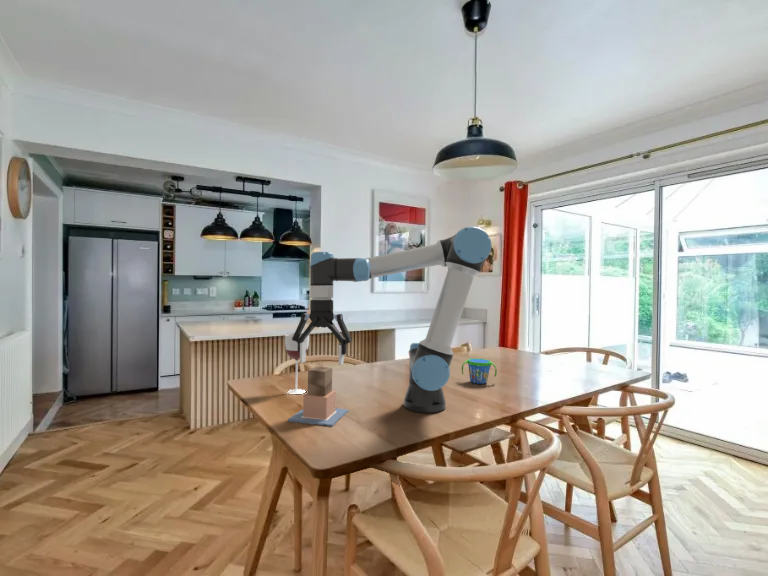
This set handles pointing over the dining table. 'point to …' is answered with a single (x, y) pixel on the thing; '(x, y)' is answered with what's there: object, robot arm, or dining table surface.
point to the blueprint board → (328, 422)
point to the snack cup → (479, 370)
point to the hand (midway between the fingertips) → (321, 363)
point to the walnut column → (319, 381)
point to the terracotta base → (319, 405)
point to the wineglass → (295, 357)
